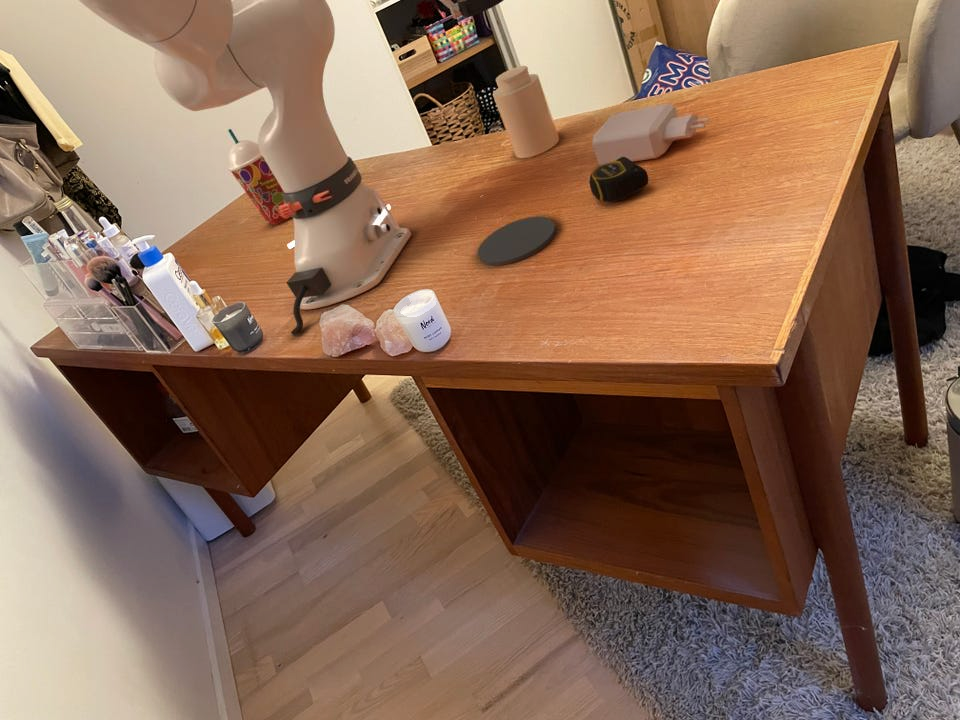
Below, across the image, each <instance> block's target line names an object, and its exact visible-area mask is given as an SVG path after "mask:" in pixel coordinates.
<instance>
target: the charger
mask: <svg viewBox="0 0 960 720" xmlns="http://www.w3.org/2000/svg"><path fill="white" fill-rule="evenodd" d="M709 121H710V118H708V117H707V118H700V119H699V116H698V114H688V115H687V114H686V115H681V116H678V112H677V107H676V106H675V105H674V104H672V103H669V102H668V103H663V104H659V105H654V106H653V105H652V106H648V107H643V108H636V109H632V110H627V111H622V112H617V113H613V114H611V115H610V116H609V117H608V119H607V120H606V121H605V122H604V123H603V124H602V126H601V127H600V128H599V129H598V130H597V131H596V133H594V134H593V137H592V141H591V144H592V148H593V151H594V154H595V158H596V161H597V164H598V167H600V166H601V165H603V164H606V163H609V162H613V161H616V160H617V159H619V158H621V157H626V158H628V159H629V160H631V161H632V162H633V163H634V162H639V161H646V160H653V159H654V160H655V159H658V158H660V157H661V156H662V155H664V154H665V153H666V152H667V150H668V149H669V148H670V146H671V145H672V144H673V142H674V141H678V140H683V139H684V140H685V139H689V138H692V137H693V135H694V133H695V132H696V130H697V129H702V128H706V124H705V123H707V122H709Z"/></svg>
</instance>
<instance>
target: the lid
mask: <svg viewBox="0 0 960 720" xmlns="http://www.w3.org/2000/svg"><path fill="white" fill-rule="evenodd" d="M504 1H505V0H457V3H458V5H459V8H460V10H461V13H462V16H461V17H462V18H463V19H465V18H471V17H474V16H477V15H479V14H482V13H483V12H485V11H488V10H490V9H492V8H493V7H495V6H497V5H499V4H501V3H502V2H504Z"/></svg>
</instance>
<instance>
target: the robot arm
mask: <svg viewBox="0 0 960 720" xmlns="http://www.w3.org/2000/svg"><path fill="white" fill-rule="evenodd" d="M78 1H79V2H80V3H81V4H82V5H84V6H85V7H86V8H87V9H88V10H90V11H91V12H93V14H95V15H96V16H98V17H99V18H101V19H102V20H104V21H105V22H107V24H109V25H111V26H112V27H114V28H116V29H118V30H119V31H120V32H123V33H124V34H126V35H128V36H130V37H132V38H134V39H135V40H138V41H139V42H141V43H142V42H143V43H144V44H145V45H148V46H149V47H151V48H153V49H155V50H154V60H153V61H154V62H153V63H154V70H155V73H156V76H157V79H158V82H159V84H160V85H161V87H162V89H163V90H164V92H165V93H166V94H167V95H168V96H169V97H170V99H172V100H173V101H174V102H175V103H177V105H179V106H181V107H183V108H184V109H187V110H189V111H191V112H199V111H204V110H210V109H215V108H220V107H223V106H227V105H230V104H232V103H234V102H236V101H238V100H241V99H243V98H246V97H247V96H250V95H252V94H254V93H256V92H258V91H260V90H262V89H264V88H265V89H267V90H268V92H269V94H270V96H271V100H272V103H273V104H272V105H273V108H272V109H271V111H270V113H268V114H267V115H268V116H267V117H266V118H265V120H264V122H263V123H262V125H261V126H260V129H259V131H258V133H257V134H258V136H257V144H258V146H259V150H260V153H261V154H262V156H263V158H264V159H265V161H266V163H267V164H268V166H269V168H270V169H271V171H272V173H273V174H274V176H275V178H276V179H277V181H278V183H279V184H280V186H281V188H282V190H283V191H282V194H283V197H284V200H285V204H283V205H280V206H279V210H280V211H279V213H281V214H280V215H282V217H284V218H285V219H286V218H288V217H290V216H291V218H292V220H293V240H292V241H291V242H289V243H288V244H286V245H287V247H288V249H289V250H290V249H292V248H293V249H294V250H293V251H294V253H293V254H294V259H293V261H294V267H295V270H296V271H295V272H294V273H293V274H292V275H291V276H290V278H289V279H288V280H287V281H286V285H287V286H288V288H289V289H290V291H291V292H292V294H293V295H294V297H295V300H294V303H293V307H292V308H293V309H292V310H293V311H292V312H293V316H294V319H295V322H296V327H294V328H293V329H292V330H291V332H290V333H291V335H292V336H294V337H296V336H298V335H299V334H300V333H301V332H302V330H303V327H304V321H303V320H304V319H303V317H302V315H301V310H304V311H305V310H314V309H315V310H316V309H320V308H324V307H328V306H331V305H334V304H338V303H340V302H343V301H346V300H349V299H351V298H353V297H356V296H358V295H361V294H363V293H365V292H366V291H368V290H370V289H372V288H374V287H376V286H377V285H378V284H380V282H381V281H382V280H383V278H384V277H385V275H387V272H388V271H389V270H390V268H391V267H392V265H393V264H394V262H395V261H396V259H397V257H398V256H399V254H400V253H401V251H402V250H403V248H404V247H405V245H406V244H407V243H408V241H409V240H410V238H411V236H412V232H411V231H410V229H409V228H408V227H400V225H399V224H398V223H397V221H396V219H395V218H394V215H393V214H392V212H391V211H390V210H391V205H390V204H386V202H385V201H384V199H383V198H382V196H381V194H380V193H379V191H377V190H375V189H373V188H371V187H369V186H368V185H367V184H365V183H364V181H362V179H363V177H362V175H361V173H360V171H359V168H358V166H357V164H356V163H355V162H354V160H353V159H352V157H350V156H348V155H347V153H346V151H345V149H344V147H343V145H342V143H341V141H340V139H339V136H338V135H337V134H338V133H337V132H336V130H335V127H334V126H333V124H332V123H333V122H332V120H331V119H330V116H329V113H328V110H327V108H326V104H325V99H324V89H323V88H324V87H323V83H324V72H325V68H326V65H327V60H328V58H329V55H330V53H331V51H332V48H333V46H334V41H335V35H336V32H335V31H336V30H335V29H336V28H335V20H334V16H333V12H332V9H331V7H330V6H329V4H328V2H327V0H78ZM439 2H441V3H442V4H443V5H444V6H445V7H447V8H448V9H449V11H450V14H451V16H452V19H453V20H456V19H459V18H461V17H463V16H462V13H461V10H460V8H459V5H458V2H456V3H455V2H453V1H452V0H439Z"/></svg>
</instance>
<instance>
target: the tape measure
mask: <svg viewBox="0 0 960 720" xmlns="http://www.w3.org/2000/svg"><path fill="white" fill-rule="evenodd" d="M588 182H589V183H588V184H589V187H590V190H591V193H592V195H593V197H594V198H595V199H596V200H598V201H601V202H606V203H608V202H609V203H610V202H617V201H620V200H624V199H626V198H628V197H630V196H632V195H633V194H635V193H636V192H638V191H640V190H641V189H643V188H644V187H646V186H647V185H648V183H649V175H648V172H647V170H645V168H644V167H642V166H640V165H638V164H637V163H634V161H633V162H632V161H631V160H629V159H628V158H626V157H621V158H619V159H617V160H616V161H613V162H609V163H606V164H603V165H601V166H598V167H596V168H595V169H594V170H593V171H592V172H591V173H590V175H589V181H588Z"/></svg>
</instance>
